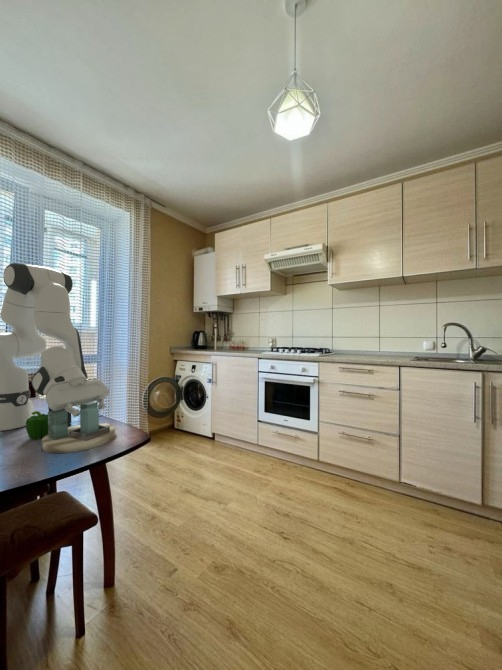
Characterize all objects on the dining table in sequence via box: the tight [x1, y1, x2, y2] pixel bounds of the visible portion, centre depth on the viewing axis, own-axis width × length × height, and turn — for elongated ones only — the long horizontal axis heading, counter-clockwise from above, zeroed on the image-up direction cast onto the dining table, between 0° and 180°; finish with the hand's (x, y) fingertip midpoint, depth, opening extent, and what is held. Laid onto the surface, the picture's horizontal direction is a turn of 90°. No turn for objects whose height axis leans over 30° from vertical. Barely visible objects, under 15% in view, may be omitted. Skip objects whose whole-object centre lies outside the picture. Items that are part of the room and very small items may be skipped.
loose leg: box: [79, 407, 100, 434], centre depth 96 cm, size 4×4×9 cm
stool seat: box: [41, 401, 116, 454], centre depth 98 cm, size 22×22×12 cm
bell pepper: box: [25, 410, 48, 441], centre depth 101 cm, size 8×8×10 cm
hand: (90, 411), depth 96 cm, fingers open, 8 cm apart
